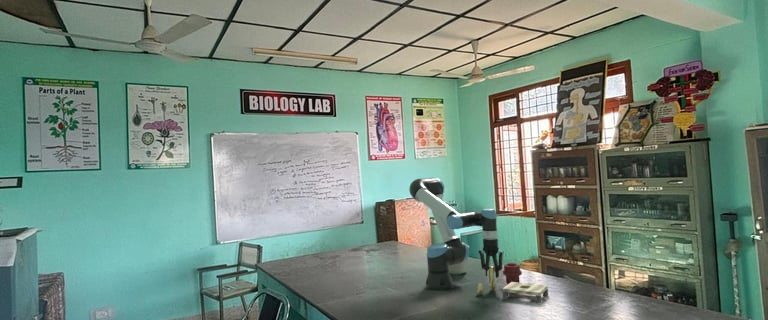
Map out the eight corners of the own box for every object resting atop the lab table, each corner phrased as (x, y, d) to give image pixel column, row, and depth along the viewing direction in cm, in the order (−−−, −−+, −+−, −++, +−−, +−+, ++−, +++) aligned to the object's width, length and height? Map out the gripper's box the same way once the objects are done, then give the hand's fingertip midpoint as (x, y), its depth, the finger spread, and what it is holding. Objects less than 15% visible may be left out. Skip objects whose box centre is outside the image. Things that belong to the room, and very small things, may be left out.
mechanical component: (521, 283, 235) (523, 288, 226) (502, 283, 237) (504, 288, 228) (520, 261, 236) (522, 265, 226) (501, 261, 238) (502, 265, 228)
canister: (439, 270, 278) (437, 238, 278) (466, 268, 280) (463, 236, 280) (446, 277, 260) (443, 242, 260) (474, 274, 262) (472, 240, 262)
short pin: (476, 294, 220) (476, 284, 220) (478, 293, 222) (478, 283, 222) (482, 295, 218) (481, 285, 218) (484, 293, 221) (483, 284, 221)
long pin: (489, 290, 224) (488, 267, 225) (491, 288, 227) (490, 265, 227) (494, 290, 223) (493, 267, 223) (496, 289, 225) (495, 266, 225)
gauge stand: (503, 298, 210) (502, 288, 210) (512, 291, 222) (511, 281, 222) (540, 303, 200) (539, 292, 200) (548, 295, 211) (547, 285, 211)
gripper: (473, 238, 227) (475, 283, 226) (502, 240, 218) (505, 286, 217) (478, 236, 233) (481, 279, 232) (507, 237, 224) (510, 282, 223)
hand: (492, 282), depth 225 cm, fingers closed on long pin, 3 cm apart
